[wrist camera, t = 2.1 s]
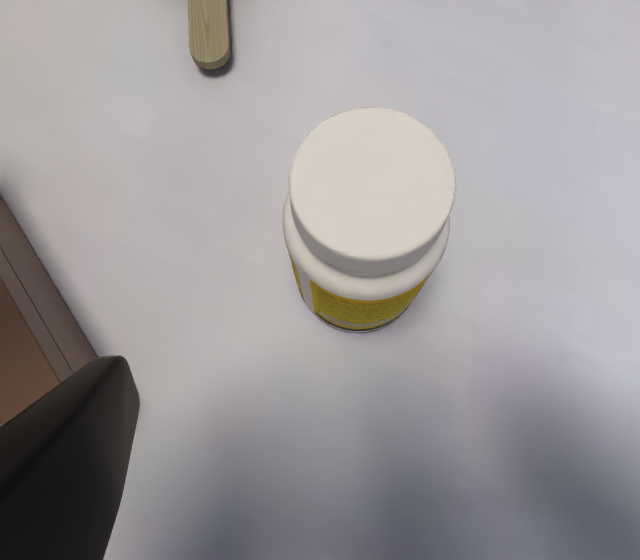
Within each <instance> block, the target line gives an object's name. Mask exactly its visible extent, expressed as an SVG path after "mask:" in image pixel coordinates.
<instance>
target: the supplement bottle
mask: <svg viewBox="0 0 640 560" xmlns="http://www.w3.org/2000/svg"><path fill="white" fill-rule="evenodd" d="M455 192H456V178H455V170H454V166H453V163H452V160H451V157H450V155H449V153H448V151H447V149H446V148H445V146H444V144H443V143H442V142H441V140H440V139H439V138H438V137H437V135H436V134H435V133H434V132H433V131H432V130H431V129H430V128H428V127H427V126H426V125H425V124H423V123H422V122H420V121H419V120H417V119H415V118H413V117H412V116H410V115H407V114H405V113H402V112H399V111H396V110H391V109H386V108H377V107H363V108H356V109H351V110H348V111H344V112H341V113H339V114H337V115H334V116H332V117H330V118H328V119H327V120H325V121H323V122H322V123H320V124H319V125H318V126H317V127H316V128H314V129H313V130H312V131H311V132H310V133H309V134H308V136H307V137H306V138H305V139H304V140H303V142H302V143H301V145H300V146H299V148H298V150H297V152H296V154H295V156H294V158H293V161H292V164H291V168H290V174H289V191H288V194H287V197H286V200H285V204H284V210H283V231H284V238H285V242H286V246H287V249H288V252H289V256H290V259H291V263H292V266H293V270H294V274H295V278H296V281H297V284H298V288H299V291H300V294H301V296H302V298H303V300H304V302H305V303H306V305H307V306H308V308H309V309H310V310H311V311H312V312H313V313H314V314H315V315H316V316H317V317H318V318H319V319H320V320H322V321H323V322H325V323H326V324H328V325H330V326H332V327H334V328H336V329H339V330H342V331H347V332H355V333H357V332H369V331H373V330H377V329H380V328H382V327H384V326H386V325H388V324H390V323H391V322H393V321H394V320H396V319H397V318H398V317H399V316H400V315H401V314H402V313H403V312H404V311H405V310H406V309H407V308H408V307H409V305H410V304H411V302H412V301H413V299H414V298H415V296H416V295H417V294H418V292H419V291H420V289H421V288H422V286H423V285H424V283H425V282H426V280H427V279H428V277H429V276H430V275H431V273H432V272H433V270H434V269H435V267H436V266H437V264H438V263H439V261H440V260H441V258H442V255H443V253H444V251H445V248H446V245H447V241H448V237H449V231H450V212H451V210H452V207H453V203H454V199H455Z"/></svg>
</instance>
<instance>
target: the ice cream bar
mask: <svg viewBox="0 0 640 560" xmlns="http://www.w3.org/2000/svg"><path fill="white" fill-rule="evenodd" d="M188 19H189V48H190V53H191V55H192V58H193V60H194V62H195V63H196V64H197V65H198V66H199V67H201V68H204V69H216V68H219V67H221V66H222V65H224V64H225V63H226V62H227V61H228V59H229V57H230V35H229V17H228V0H188Z"/></svg>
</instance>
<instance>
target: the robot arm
mask: <svg viewBox="0 0 640 560" xmlns="http://www.w3.org/2000/svg"><path fill="white" fill-rule="evenodd" d="M139 405H140V402H139V394H138V391H137V388H136V385H135V382H134V379H133V376H132V374H131V371H130V368H129V365H128V362H127V360H126V359H125V358H124V357H122V356H119V355H118V356H104V357H97V358H94V359H93V360H91V361H90V362H89V363H87V364H86V365H84V366H83V367H82V368H80V369H79V370H78V371H76V372H75V373H74V374H72V375H71V376H69V377H68V378H67V379H65V380H64V381H63V382H61V383H60V384H58V385H57V386H56V387H54V388H53V389H52V390H50V391H49V392H48V393H46V394H45V395H43V396H42V397H41V398H39V399H38V400H37V401H35V402H34V403H32V404H31V405H30V406H28V407H27V408H26V409H24V410H23V411H22V412H20V413H19V414H17V415H16V416H15V417H13V418H12V419H11V420H9V421H8V422H7V423H5V424H4V425H2V426H1V427H0V560H103V558H104V555H105V551H106V548H107V545H108V542H109V539H110V536H111V532H112V529H113V526H114V523H115V520H116V516H117V513H118V509H119V506H120V502H121V498H122V494H123V489H124V484H125V479H126V474H127V469H128V464H129V459H130V454H131V449H132V444H133V439H134V433H135V428H136V423H137V418H138V413H139Z"/></svg>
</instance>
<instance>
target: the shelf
mask: <svg viewBox="0 0 640 560" xmlns="http://www.w3.org/2000/svg"><path fill="white" fill-rule="evenodd" d="M94 358H97V356H96V354H95V352H94V351H93V349H92V347H91V345H90V344H89V342H88V340H87V339H86V337H85V335H84V334H83V332H82V330H81V329H80V327H79V325H78V324H77V322H76V320H75V319H74V317H73V315H72V314H71V312H70V310H69V309H68V307H67V305H66V304H65V302H64V300H63V299H62V297H61V295H60V294H59V292H58V290H57V289H56V287H55V285H54V284H53V282H52V280H51V279H50V277H49V275H48V274H47V272H46V270H45V269H44V267H43V265H42V263H41V262H40V260H39V258H38V257H37V255H36V253H35V252H34V250H33V248H32V247H31V245H30V243H29V242H28V240H27V238H26V237H25V235H24V233H23V232H22V230H21V228H20V227H19V225H18V223H17V222H16V220H15V218H14V217H13V215H12V213H11V212H10V210H9V208H8V207H7V205H6V203H5V202H4V200H3V198H2V196H1V195H0V427H1V426H2V425H4V424H5V423H7V422H8V421H9V420H11V419H12V418H13V417H15V416H16V415H17V414H19V413H20V412H22V411H23V410H24V409H26V408H27V407H28V406H30V405H31V404H32V403H34V402H35V401H37V400H38V399H39V398H41V397H42V396H43V395H45V394H46V393H48V392H49V391H50V390H52V389H53V388H54V387H56V386H57V385H58V384H60V383H61V382H63V381H64V380H65V379H67V378H68V377H69V376H71V375H72V374H74V373H75V372H76V371H78V370H79V369H80V368H82V367H83V366H84V365H86V364H87V363H89V362H90V361H91V360H93V359H94Z"/></svg>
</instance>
